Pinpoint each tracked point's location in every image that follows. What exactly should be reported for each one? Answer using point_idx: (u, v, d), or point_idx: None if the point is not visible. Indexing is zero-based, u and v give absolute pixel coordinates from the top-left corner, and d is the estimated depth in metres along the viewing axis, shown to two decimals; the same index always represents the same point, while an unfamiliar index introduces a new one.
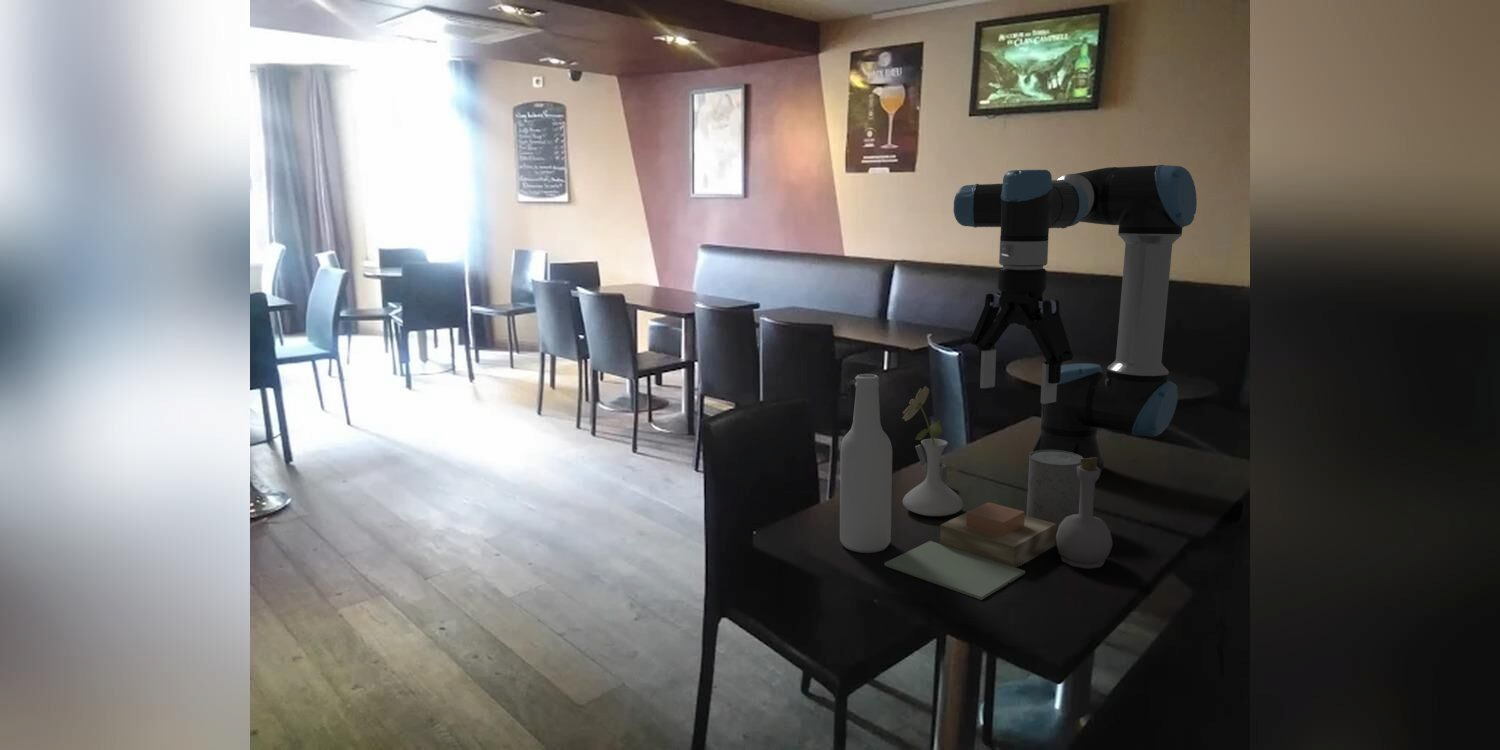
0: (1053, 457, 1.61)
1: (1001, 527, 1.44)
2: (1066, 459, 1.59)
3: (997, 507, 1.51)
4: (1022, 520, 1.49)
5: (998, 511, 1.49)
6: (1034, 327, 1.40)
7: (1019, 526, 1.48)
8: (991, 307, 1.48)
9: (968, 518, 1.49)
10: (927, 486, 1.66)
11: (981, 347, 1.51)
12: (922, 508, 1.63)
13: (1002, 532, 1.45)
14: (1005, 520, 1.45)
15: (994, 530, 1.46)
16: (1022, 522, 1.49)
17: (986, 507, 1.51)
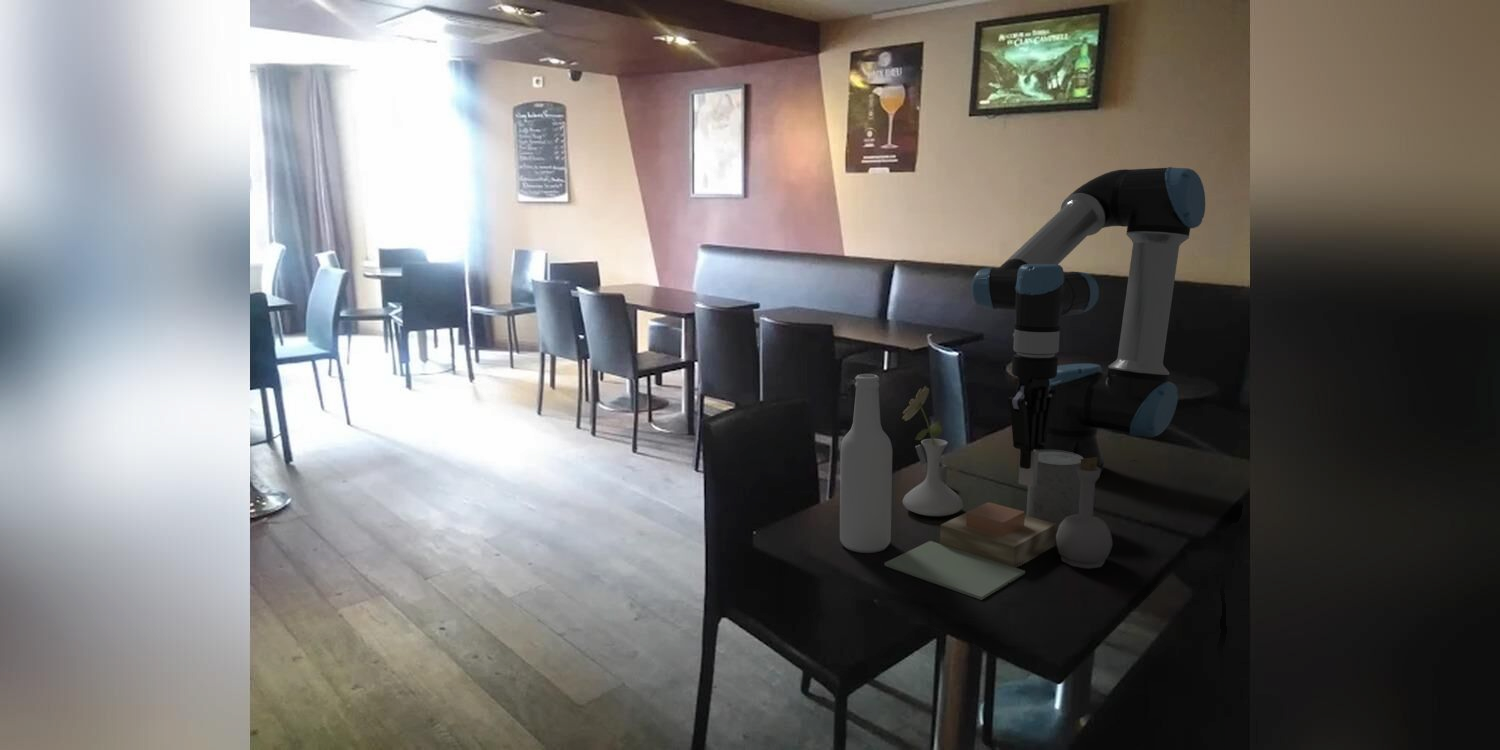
0: (1053, 457, 1.61)
1: (1001, 527, 1.44)
2: (1066, 459, 1.59)
3: (997, 507, 1.51)
4: (1022, 520, 1.49)
5: (998, 511, 1.49)
6: None
7: (1019, 526, 1.48)
8: None
9: (968, 518, 1.49)
10: (927, 486, 1.66)
11: None
12: (922, 508, 1.63)
13: (1002, 532, 1.45)
14: (1005, 520, 1.45)
15: (994, 530, 1.46)
16: (1022, 522, 1.49)
17: (986, 507, 1.51)
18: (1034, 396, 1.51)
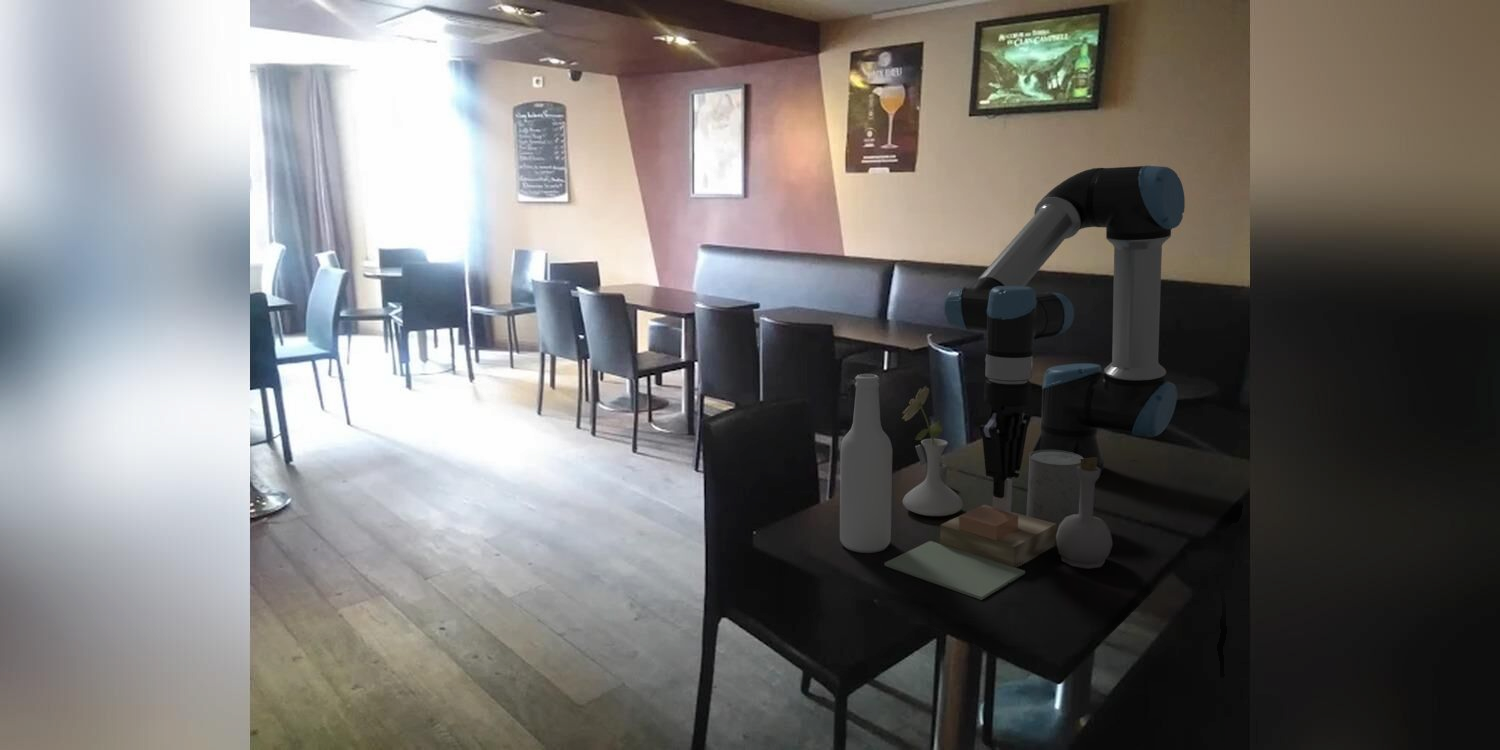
0: (1053, 457, 1.61)
1: (994, 531, 1.43)
2: (1066, 459, 1.59)
3: (990, 510, 1.49)
4: (1015, 524, 1.47)
5: (991, 515, 1.47)
6: None
7: (1012, 530, 1.47)
8: None
9: (961, 522, 1.47)
10: (927, 486, 1.66)
11: None
12: (922, 508, 1.63)
13: (995, 536, 1.43)
14: (998, 524, 1.43)
15: (987, 534, 1.44)
16: (1015, 526, 1.47)
17: (979, 510, 1.50)
18: (1007, 423, 1.45)
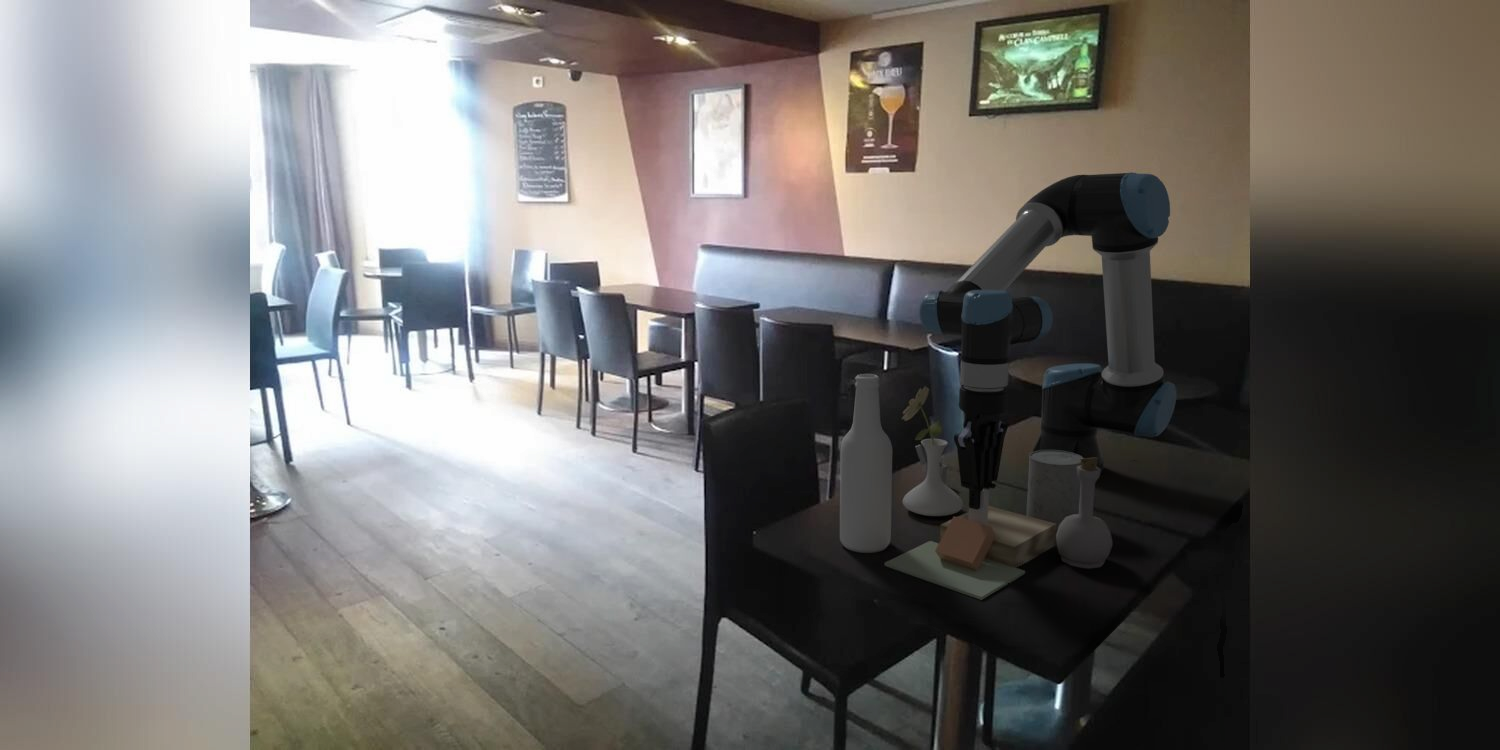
0: (1053, 456, 1.61)
1: (973, 565, 1.39)
2: (1066, 459, 1.59)
3: (963, 526, 1.44)
4: (992, 534, 1.42)
5: (965, 537, 1.42)
6: None
7: (991, 542, 1.42)
8: None
9: (939, 554, 1.43)
10: (927, 486, 1.66)
11: None
12: (922, 508, 1.63)
13: (975, 568, 1.39)
14: (974, 557, 1.39)
15: (967, 566, 1.40)
16: (992, 536, 1.42)
17: (953, 530, 1.44)
18: (982, 432, 1.40)
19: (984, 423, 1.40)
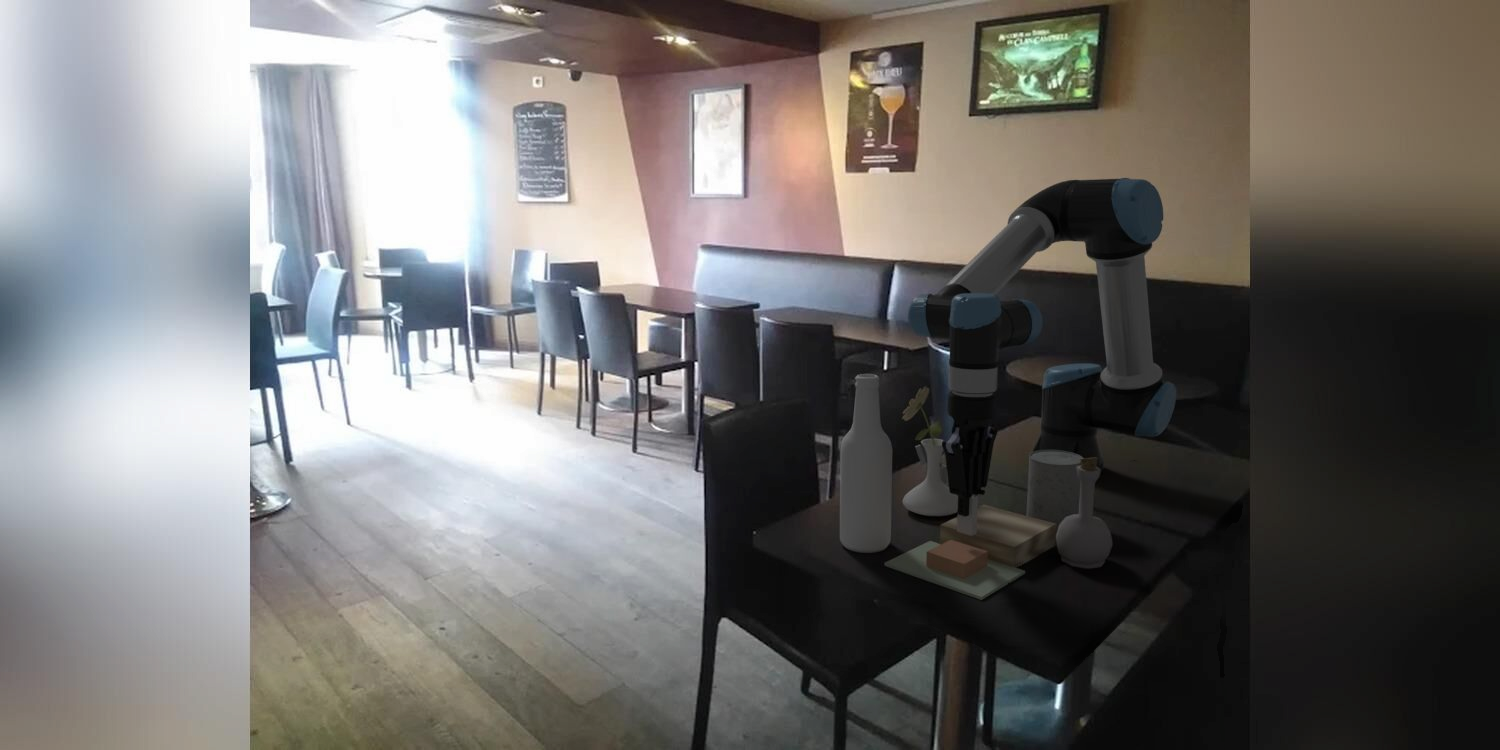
0: (1053, 457, 1.61)
1: (962, 569, 1.37)
2: (1066, 459, 1.59)
3: (959, 546, 1.43)
4: (985, 560, 1.41)
5: (959, 551, 1.41)
6: None
7: (982, 566, 1.41)
8: None
9: (928, 558, 1.41)
10: (927, 486, 1.66)
11: None
12: (922, 508, 1.63)
13: (962, 574, 1.37)
14: (966, 561, 1.37)
15: (955, 571, 1.38)
16: (985, 562, 1.41)
17: (948, 546, 1.44)
18: (971, 438, 1.38)
19: (973, 429, 1.38)
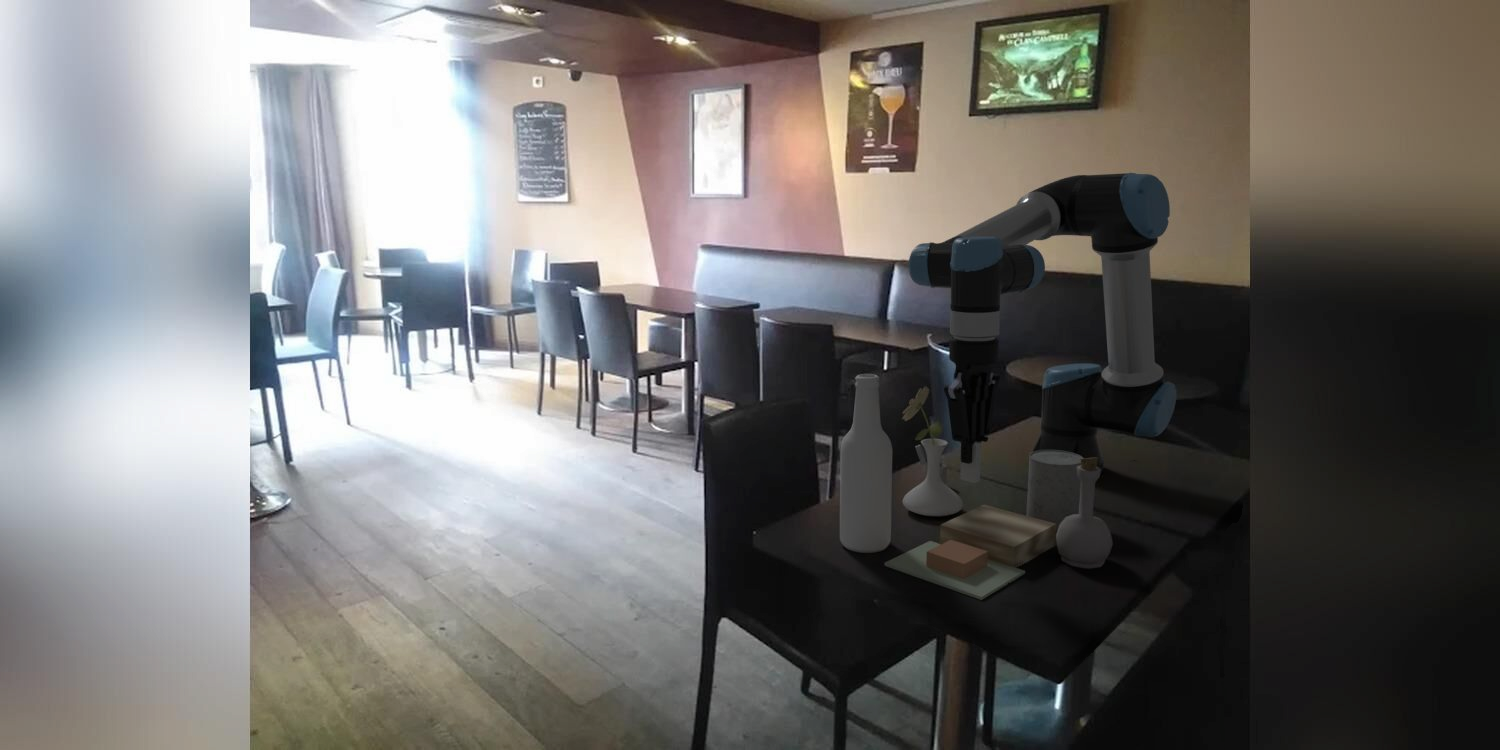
0: (1053, 457, 1.61)
1: (962, 569, 1.37)
2: (1066, 459, 1.59)
3: (959, 546, 1.43)
4: (985, 560, 1.41)
5: (959, 551, 1.41)
6: None
7: (982, 566, 1.41)
8: None
9: (928, 558, 1.41)
10: (927, 486, 1.66)
11: None
12: (922, 508, 1.63)
13: (962, 574, 1.37)
14: (966, 561, 1.37)
15: (955, 571, 1.38)
16: (985, 562, 1.41)
17: (948, 546, 1.44)
18: (973, 383, 1.36)
19: (975, 374, 1.36)
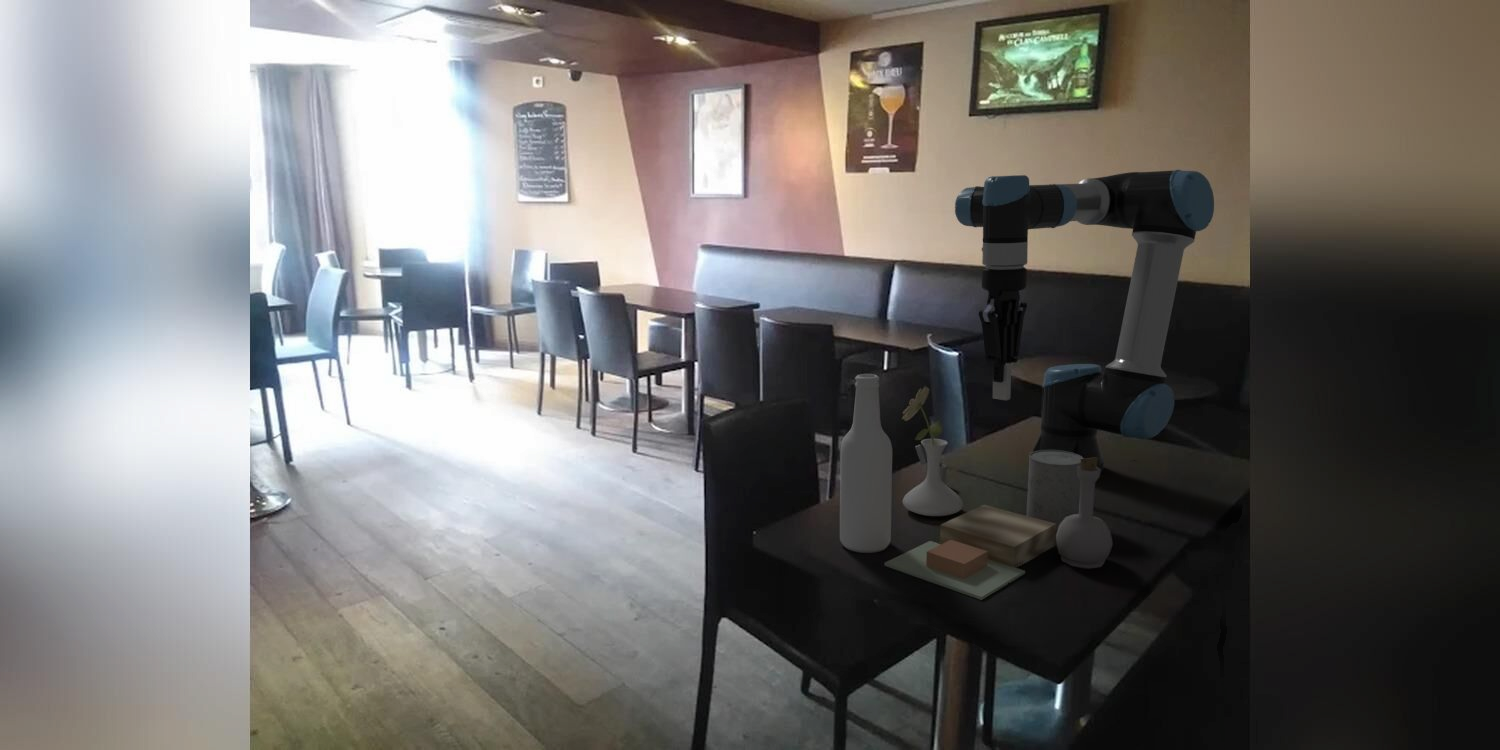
0: (1053, 456, 1.61)
1: (962, 569, 1.37)
2: (1066, 459, 1.59)
3: (959, 546, 1.43)
4: (985, 560, 1.41)
5: (959, 551, 1.41)
6: None
7: (982, 566, 1.41)
8: None
9: (928, 558, 1.41)
10: (927, 486, 1.66)
11: None
12: (922, 508, 1.63)
13: (962, 574, 1.37)
14: (966, 561, 1.37)
15: (955, 571, 1.38)
16: (985, 562, 1.41)
17: (948, 546, 1.44)
18: (1004, 308, 1.51)
19: (1006, 300, 1.51)
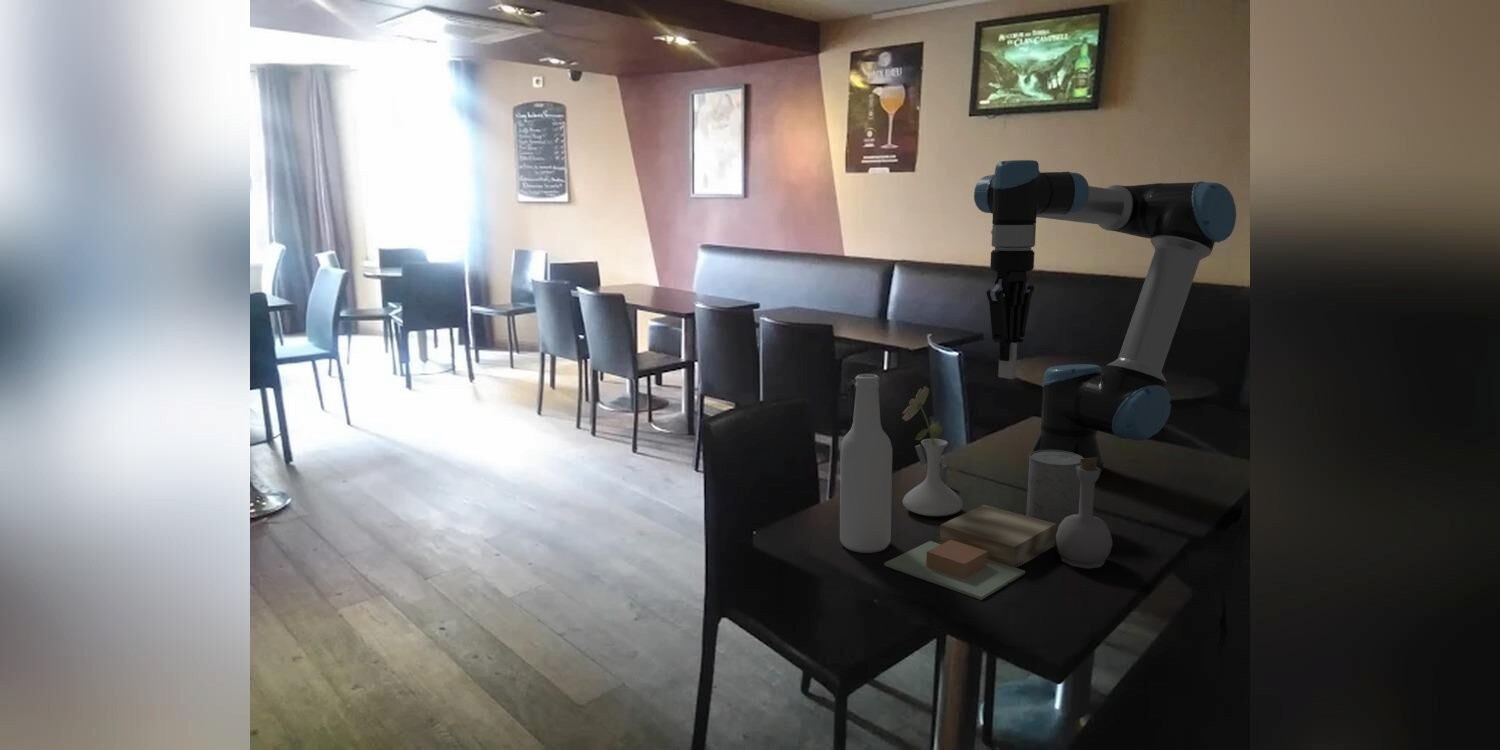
0: (1053, 456, 1.61)
1: (962, 569, 1.37)
2: (1066, 459, 1.59)
3: (959, 546, 1.43)
4: (985, 560, 1.41)
5: (959, 551, 1.41)
6: None
7: (982, 566, 1.41)
8: None
9: (928, 558, 1.41)
10: (927, 486, 1.66)
11: None
12: (922, 508, 1.63)
13: (962, 574, 1.37)
14: (966, 561, 1.37)
15: (955, 571, 1.38)
16: (985, 562, 1.41)
17: (948, 546, 1.44)
18: (1012, 289, 1.56)
19: (1013, 281, 1.56)
